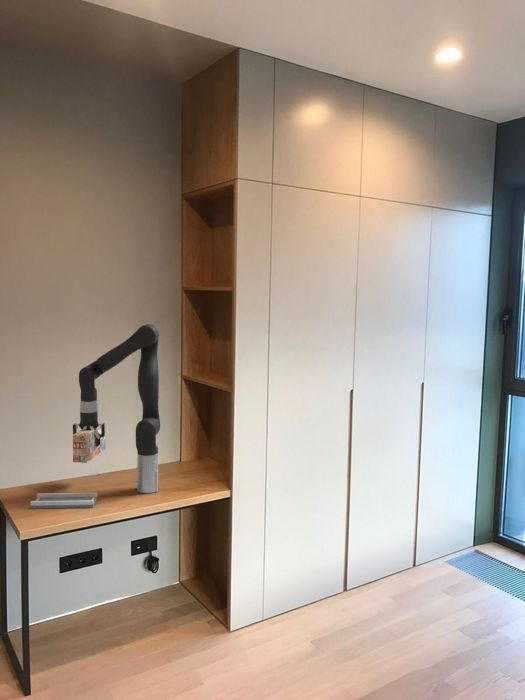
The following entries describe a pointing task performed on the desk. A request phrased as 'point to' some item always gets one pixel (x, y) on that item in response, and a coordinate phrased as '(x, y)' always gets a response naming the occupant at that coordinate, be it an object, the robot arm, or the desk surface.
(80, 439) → the stack of blocks
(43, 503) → the base board
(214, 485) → the desk surface
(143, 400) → the robot arm
